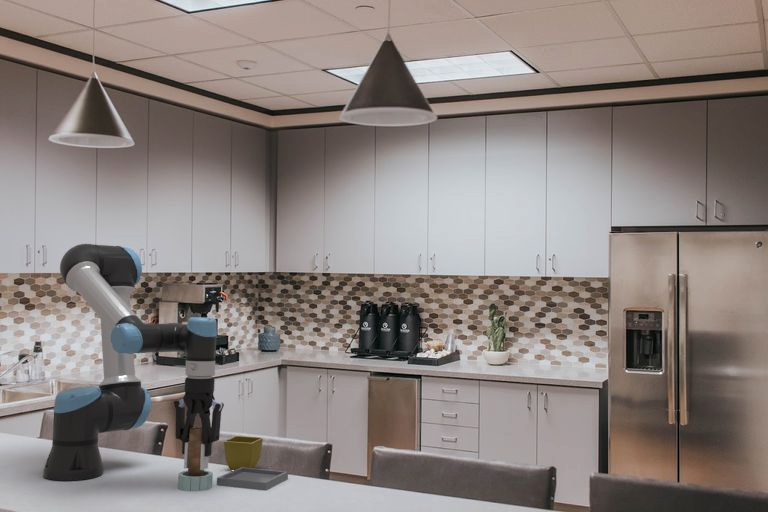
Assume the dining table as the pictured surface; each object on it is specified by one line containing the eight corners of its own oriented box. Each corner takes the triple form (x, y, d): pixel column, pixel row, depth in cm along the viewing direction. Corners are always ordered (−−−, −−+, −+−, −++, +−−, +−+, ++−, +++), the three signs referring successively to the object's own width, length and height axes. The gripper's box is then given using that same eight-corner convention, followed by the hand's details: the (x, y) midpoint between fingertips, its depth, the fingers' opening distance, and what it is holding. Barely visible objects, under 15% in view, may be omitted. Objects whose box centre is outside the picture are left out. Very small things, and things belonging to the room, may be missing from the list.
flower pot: (251, 475, 217) (252, 442, 217) (222, 472, 218) (223, 440, 219) (262, 468, 225) (263, 437, 226) (234, 466, 227) (235, 435, 227)
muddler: (184, 487, 197) (186, 428, 198) (192, 484, 201) (194, 426, 202) (198, 489, 196) (200, 429, 197) (206, 486, 200) (208, 427, 201)
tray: (216, 487, 201) (217, 477, 201) (241, 476, 215) (241, 467, 215) (265, 492, 197) (265, 482, 197) (287, 481, 211) (288, 471, 211)
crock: (171, 491, 196) (172, 475, 196) (189, 484, 204) (189, 468, 204) (201, 494, 193) (201, 478, 194) (217, 487, 201) (218, 471, 202)
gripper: (163, 376, 199) (158, 468, 198) (222, 380, 194) (218, 474, 193) (178, 373, 206) (174, 462, 205) (236, 377, 201) (232, 468, 200)
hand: (195, 467), depth 199 cm, fingers closed on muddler, 4 cm apart
